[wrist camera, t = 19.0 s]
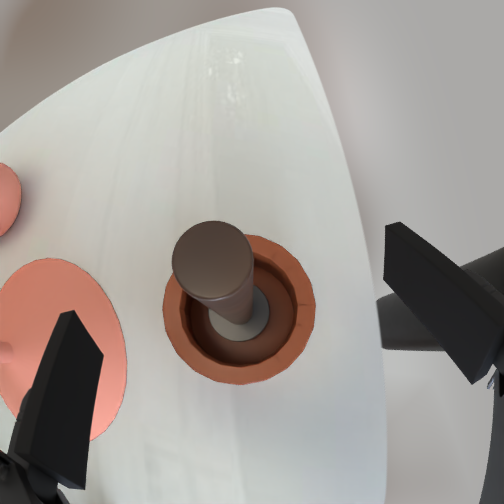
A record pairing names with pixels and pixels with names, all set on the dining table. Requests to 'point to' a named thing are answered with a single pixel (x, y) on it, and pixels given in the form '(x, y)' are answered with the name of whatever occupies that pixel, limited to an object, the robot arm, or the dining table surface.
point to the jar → (263, 345)
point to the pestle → (221, 278)
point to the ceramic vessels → (53, 320)
